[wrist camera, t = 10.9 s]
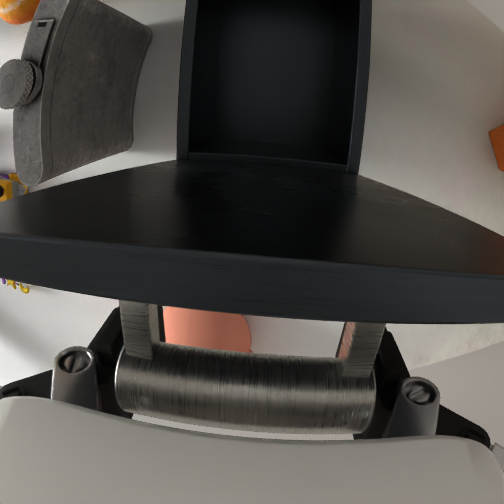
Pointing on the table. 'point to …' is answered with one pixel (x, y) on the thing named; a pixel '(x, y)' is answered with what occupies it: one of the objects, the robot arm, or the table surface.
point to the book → (8, 189)
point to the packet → (498, 145)
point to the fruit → (18, 10)
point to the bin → (275, 82)
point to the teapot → (207, 329)
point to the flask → (73, 87)
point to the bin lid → (253, 280)
